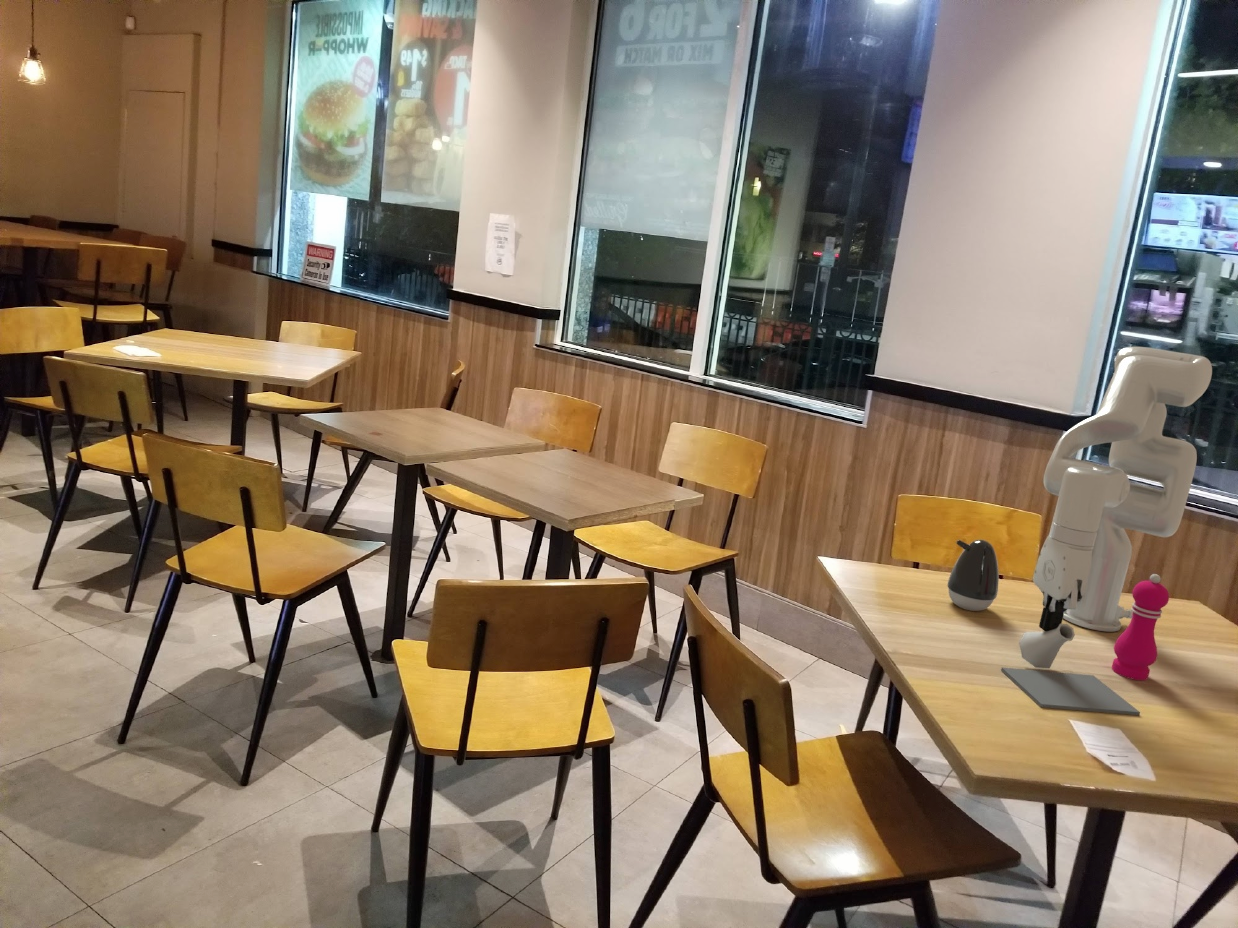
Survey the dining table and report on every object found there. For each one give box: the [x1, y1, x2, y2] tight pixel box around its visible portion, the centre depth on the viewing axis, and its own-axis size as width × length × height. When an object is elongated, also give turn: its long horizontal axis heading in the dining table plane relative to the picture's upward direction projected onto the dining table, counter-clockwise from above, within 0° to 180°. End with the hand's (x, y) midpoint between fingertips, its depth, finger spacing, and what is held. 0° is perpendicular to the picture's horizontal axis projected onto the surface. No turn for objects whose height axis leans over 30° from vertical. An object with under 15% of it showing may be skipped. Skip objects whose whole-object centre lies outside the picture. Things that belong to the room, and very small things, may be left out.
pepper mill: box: [1111, 573, 1170, 681], centre depth 179 cm, size 7×7×20 cm
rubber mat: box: [1000, 666, 1141, 716], centre depth 169 cm, size 18×14×1 cm
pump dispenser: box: [947, 539, 1000, 612], centre depth 206 cm, size 10×10×15 cm
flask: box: [1018, 623, 1075, 669], centre depth 175 cm, size 7×7×10 cm
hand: (1048, 629), depth 176 cm, fingers closed
